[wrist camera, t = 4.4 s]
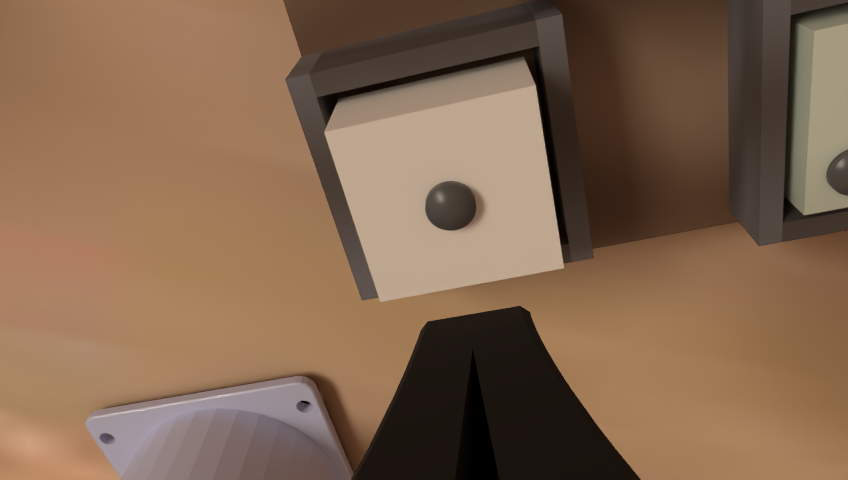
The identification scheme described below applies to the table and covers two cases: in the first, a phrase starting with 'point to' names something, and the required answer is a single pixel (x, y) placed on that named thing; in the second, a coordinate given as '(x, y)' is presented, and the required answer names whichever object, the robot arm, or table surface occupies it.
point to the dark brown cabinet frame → (589, 104)
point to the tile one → (448, 180)
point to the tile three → (817, 111)
